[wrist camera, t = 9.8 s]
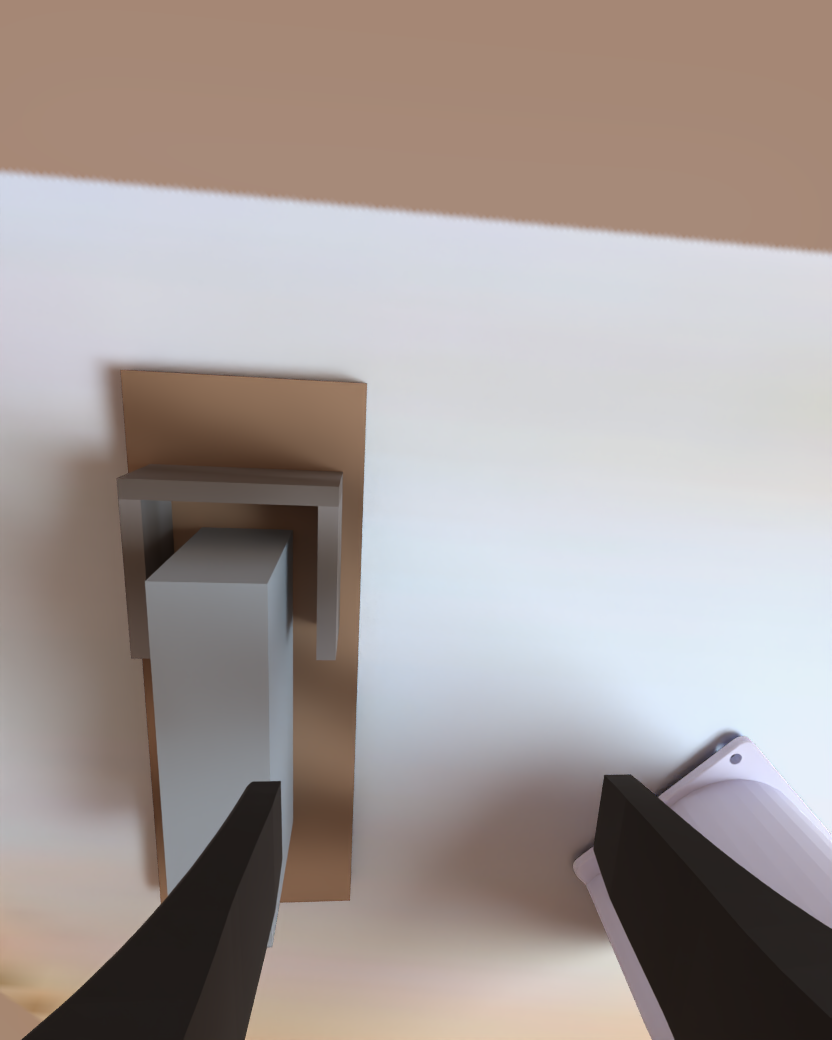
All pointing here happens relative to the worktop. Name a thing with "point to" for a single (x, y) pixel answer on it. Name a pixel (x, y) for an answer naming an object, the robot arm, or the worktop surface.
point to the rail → (221, 683)
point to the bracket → (316, 562)
